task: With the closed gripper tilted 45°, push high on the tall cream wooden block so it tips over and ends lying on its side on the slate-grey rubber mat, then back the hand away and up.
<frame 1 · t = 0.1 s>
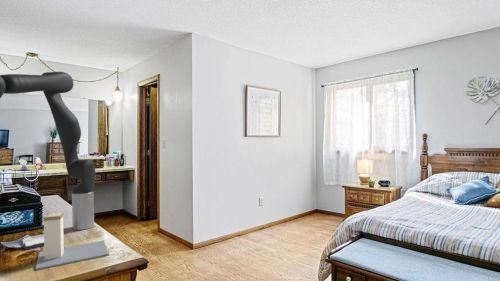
cream block: (54, 256, 107), point 1 cm above the dresser top, touching rubber mat
rubber mat: (73, 254, 110), on the dresser top
dark grey smartphone: (36, 243, 123), on the dresser top
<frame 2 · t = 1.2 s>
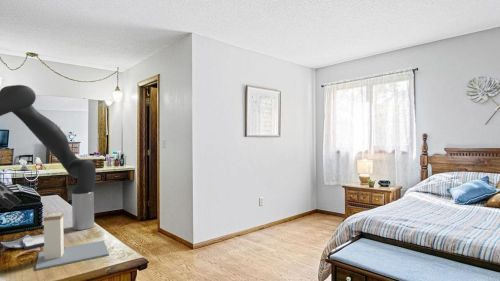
hand: (15, 205, 103), 20 cm above the dresser top, tool tilted 45°, fingers open, 6 cm apart
nothing on the dresser top moved.
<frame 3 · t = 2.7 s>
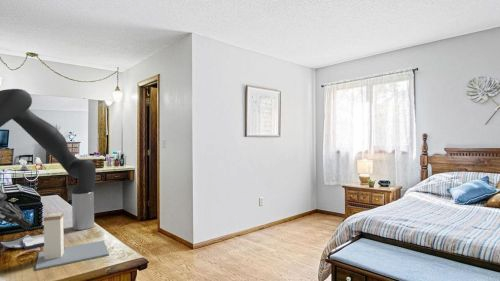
hand: (29, 226, 104), 12 cm above the dresser top, tool tilted 45°, fingers closed
nothing on the dresser top moved.
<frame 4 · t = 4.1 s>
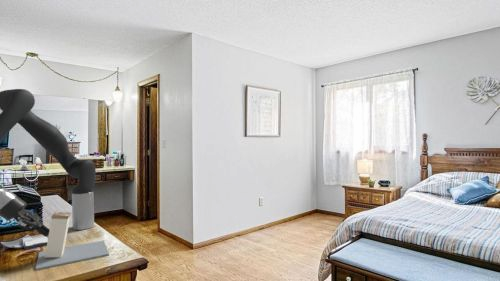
hand: (48, 234, 106), 9 cm above the dresser top, tool tilted 45°, fingers closed
cream block: (54, 254, 107), point 1 cm above the dresser top, tilted 10°, touching gripper, rubber mat
everything else where it was.
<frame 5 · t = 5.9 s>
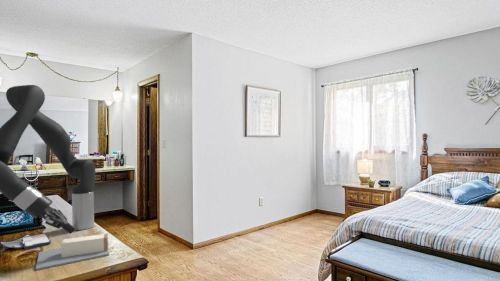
hand: (73, 231, 109), 9 cm above the dresser top, tool tilted 45°, fingers closed
cream block: (62, 248, 108), point 3 cm above the dresser top, tilted 90°, touching rubber mat
everything else where it was.
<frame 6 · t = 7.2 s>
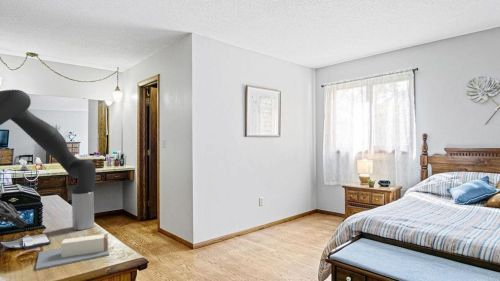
hand: (24, 225, 103), 13 cm above the dresser top, tool tilted 45°, fingers closed
nothing on the dresser top moved.
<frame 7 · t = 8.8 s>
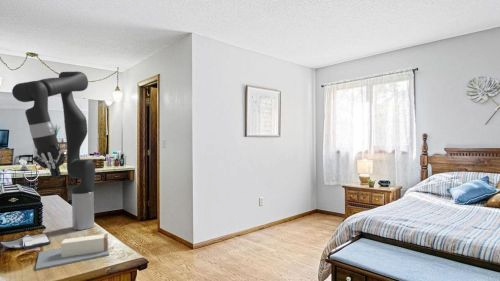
hand: (56, 177, 115), 28 cm above the dresser top, tool pointing down, fingers closed
nothing on the dresser top moved.
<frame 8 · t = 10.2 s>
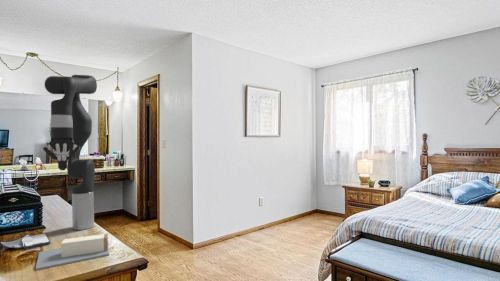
hand: (62, 170, 117), 31 cm above the dresser top, tool pointing down, fingers closed
nothing on the dresser top moved.
at the end: cream block tilted 90°; cream block inside the target area (1.4 cm from its centre), point 3.1 cm above the dresser top; cream block touching rubber mat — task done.
